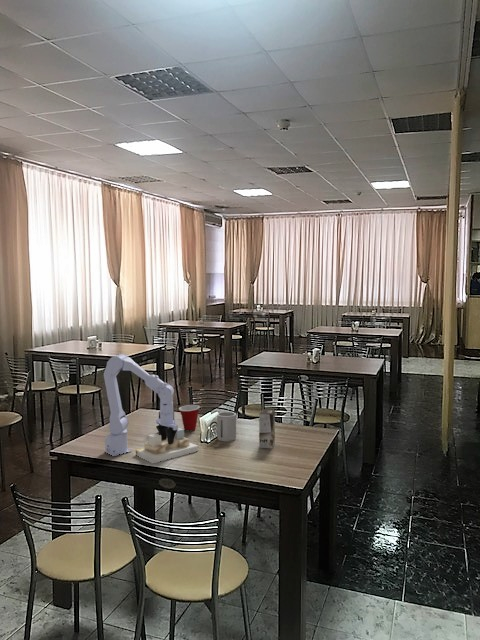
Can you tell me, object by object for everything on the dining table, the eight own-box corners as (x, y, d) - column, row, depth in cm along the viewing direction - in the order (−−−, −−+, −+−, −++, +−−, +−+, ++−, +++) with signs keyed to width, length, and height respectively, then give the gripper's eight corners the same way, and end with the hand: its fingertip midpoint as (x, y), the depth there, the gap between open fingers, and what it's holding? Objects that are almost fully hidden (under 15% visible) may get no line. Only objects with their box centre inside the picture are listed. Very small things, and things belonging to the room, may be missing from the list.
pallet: (155, 454, 225) (155, 448, 225) (144, 449, 232) (144, 443, 231) (189, 445, 237) (189, 439, 237) (177, 441, 244) (177, 434, 243)
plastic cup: (177, 427, 274) (176, 405, 273) (197, 425, 278) (197, 403, 277) (181, 433, 264) (180, 410, 263) (202, 431, 267) (201, 408, 266)
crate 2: (177, 439, 236) (176, 431, 235) (171, 437, 239) (171, 429, 238) (184, 438, 239) (184, 429, 238) (179, 436, 241) (178, 427, 241)
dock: (152, 463, 221) (152, 457, 221) (135, 455, 232) (135, 449, 231) (198, 451, 237) (198, 445, 237) (180, 443, 248) (180, 438, 247)
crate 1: (153, 446, 227) (153, 437, 227) (148, 444, 230) (148, 435, 230) (161, 444, 230) (161, 435, 229) (156, 442, 233) (156, 433, 232)
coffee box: (272, 448, 240) (272, 414, 239) (258, 448, 241) (258, 413, 240) (275, 442, 249) (275, 409, 248) (261, 441, 250) (261, 408, 249)
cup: (237, 435, 260) (236, 411, 259) (235, 441, 251) (234, 416, 250) (218, 435, 261) (218, 411, 260) (216, 440, 252) (216, 416, 251)
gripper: (183, 414, 230) (183, 444, 231) (165, 408, 241) (165, 436, 242) (170, 416, 225) (170, 447, 227) (152, 410, 236) (152, 440, 237)
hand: (167, 442), depth 234 cm, fingers closed on pallet, 5 cm apart
